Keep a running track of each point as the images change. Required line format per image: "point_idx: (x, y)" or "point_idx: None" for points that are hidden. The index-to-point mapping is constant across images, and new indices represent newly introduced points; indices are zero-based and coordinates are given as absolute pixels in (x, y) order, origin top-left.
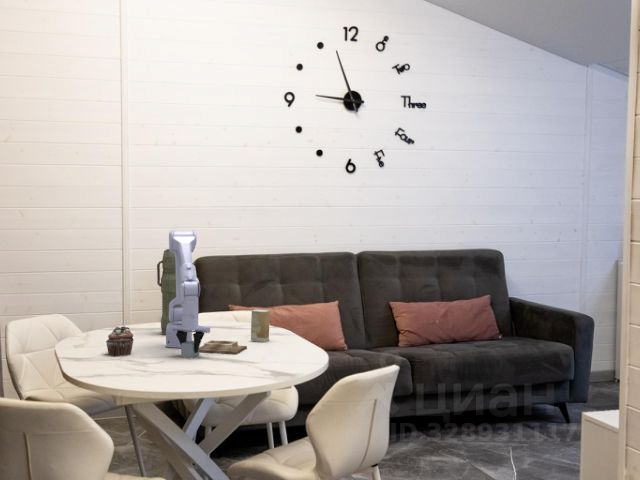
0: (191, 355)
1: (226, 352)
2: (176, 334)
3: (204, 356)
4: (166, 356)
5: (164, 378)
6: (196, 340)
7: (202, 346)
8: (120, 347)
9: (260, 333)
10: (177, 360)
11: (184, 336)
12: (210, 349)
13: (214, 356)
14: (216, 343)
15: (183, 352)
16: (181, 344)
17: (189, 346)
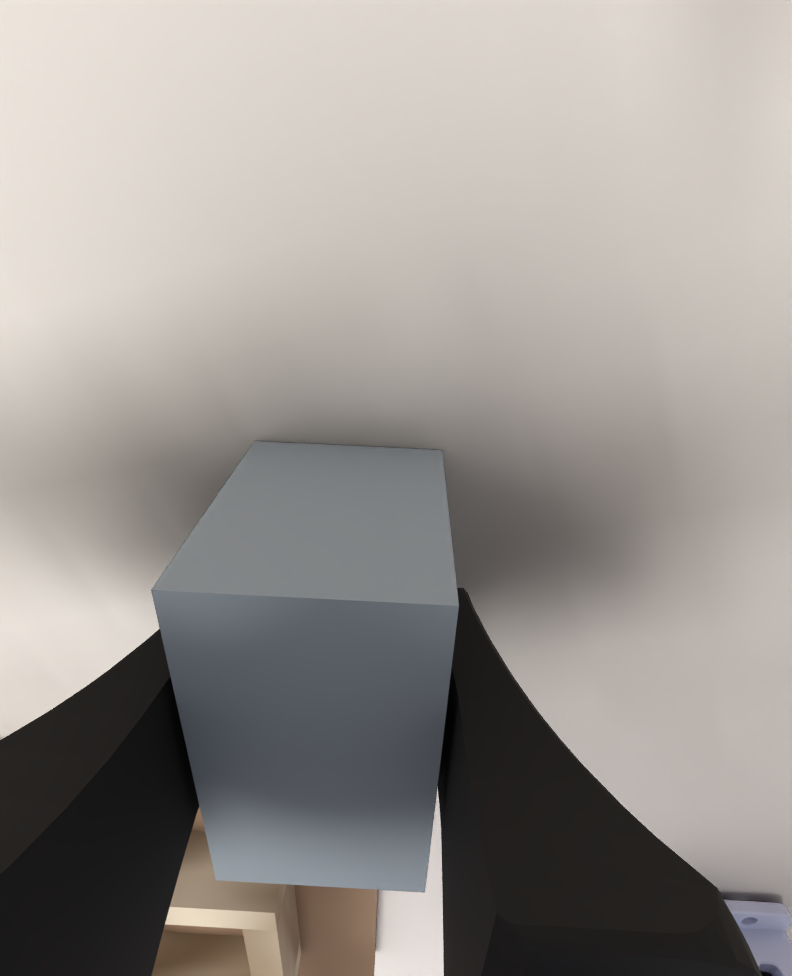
0: (249, 459)
1: None
2: (727, 929)
3: (145, 589)
4: (712, 489)
5: None
6: (44, 737)
7: (363, 912)
8: None
9: None
10: (426, 174)
11: (459, 921)
12: (202, 821)
13: (21, 610)
14: (225, 969)
15: (400, 487)
16: (452, 592)
17: (240, 554)
